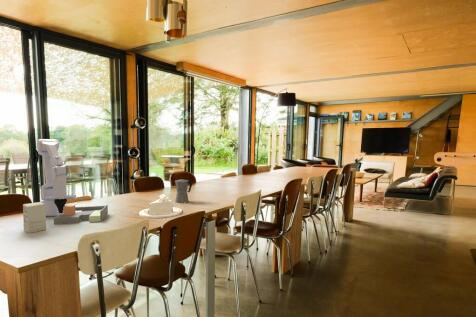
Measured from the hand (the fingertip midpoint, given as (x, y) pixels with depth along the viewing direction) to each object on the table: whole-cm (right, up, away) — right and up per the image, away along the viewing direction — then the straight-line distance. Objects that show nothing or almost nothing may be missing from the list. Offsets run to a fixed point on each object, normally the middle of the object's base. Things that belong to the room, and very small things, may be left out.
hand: (61, 212), depth 155 cm
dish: (+49, -4, +17) cm, 52 cm away
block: (+4, -1, +1) cm, 4 cm away
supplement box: (-1, -5, -18) cm, 18 cm away
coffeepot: (+57, -2, +49) cm, 75 cm away
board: (+10, -4, +3) cm, 11 cm away
